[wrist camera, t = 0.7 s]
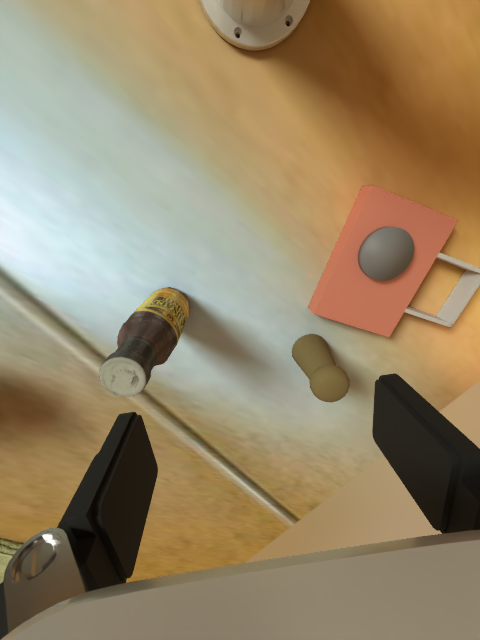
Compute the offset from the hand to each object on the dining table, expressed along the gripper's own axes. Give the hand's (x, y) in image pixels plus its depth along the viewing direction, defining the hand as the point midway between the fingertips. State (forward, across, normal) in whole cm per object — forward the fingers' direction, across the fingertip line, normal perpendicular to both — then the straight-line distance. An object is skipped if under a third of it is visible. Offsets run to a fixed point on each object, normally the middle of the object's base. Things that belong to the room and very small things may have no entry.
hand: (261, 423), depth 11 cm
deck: (+32, -24, +4) cm, 40 cm away
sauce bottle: (+32, +10, +4) cm, 34 cm away
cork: (+32, -11, +15) cm, 37 cm away
